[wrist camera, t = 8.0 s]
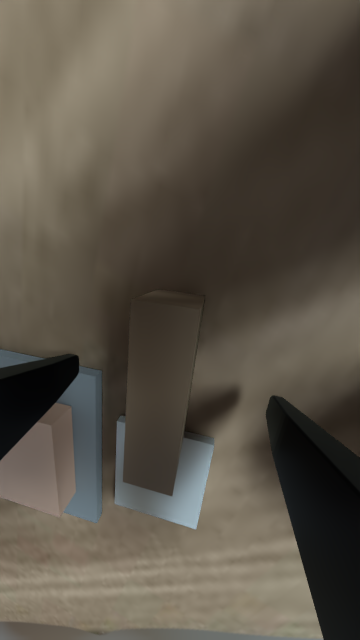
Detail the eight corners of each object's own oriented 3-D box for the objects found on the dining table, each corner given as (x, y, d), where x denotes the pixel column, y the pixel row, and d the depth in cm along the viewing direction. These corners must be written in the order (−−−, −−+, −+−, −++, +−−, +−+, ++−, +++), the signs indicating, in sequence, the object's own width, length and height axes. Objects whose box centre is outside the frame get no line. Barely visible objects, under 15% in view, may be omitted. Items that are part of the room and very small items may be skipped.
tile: (51, 425, 9) (59, 517, 11) (72, 405, 11) (76, 490, 13) (-60, 395, 10) (-35, 485, 12) (-28, 381, 12) (-10, 463, 14)
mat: (101, 370, 11) (95, 376, 10) (101, 513, 14) (96, 523, 13) (-43, 340, 12) (-56, 343, 11) (-12, 476, 15) (-20, 484, 15)
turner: (243, 300, 8) (259, 318, 5) (196, 519, 12) (191, 600, 9) (125, 284, 9) (81, 291, 6) (118, 495, 13) (89, 562, 10)
